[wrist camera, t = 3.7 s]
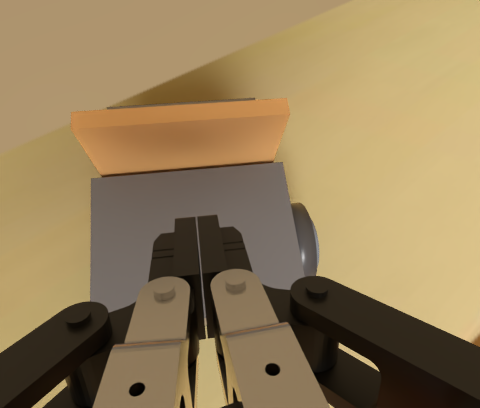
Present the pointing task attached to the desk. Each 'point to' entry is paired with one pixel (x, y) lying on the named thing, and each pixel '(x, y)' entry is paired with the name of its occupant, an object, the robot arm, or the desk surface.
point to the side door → (181, 135)
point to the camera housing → (192, 205)
